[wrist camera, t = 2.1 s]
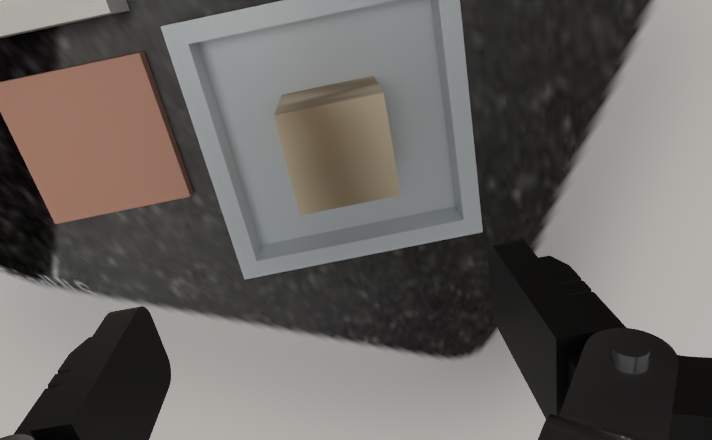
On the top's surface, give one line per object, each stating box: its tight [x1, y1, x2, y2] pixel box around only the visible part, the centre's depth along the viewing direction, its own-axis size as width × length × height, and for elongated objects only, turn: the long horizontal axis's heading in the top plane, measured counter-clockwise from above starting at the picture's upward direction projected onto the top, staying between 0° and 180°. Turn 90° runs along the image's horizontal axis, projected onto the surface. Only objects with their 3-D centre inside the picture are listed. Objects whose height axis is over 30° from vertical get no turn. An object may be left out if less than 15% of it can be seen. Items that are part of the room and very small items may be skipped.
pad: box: [0, 52, 194, 224], centre depth 28 cm, size 8×8×1 cm
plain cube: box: [274, 76, 401, 216], centre depth 26 cm, size 5×5×5 cm
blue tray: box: [161, 0, 483, 280], centre depth 28 cm, size 14×14×3 cm
